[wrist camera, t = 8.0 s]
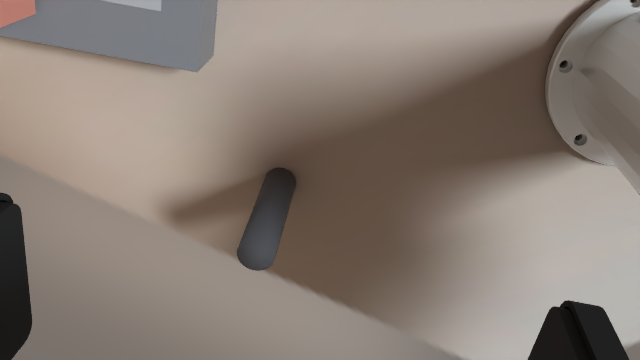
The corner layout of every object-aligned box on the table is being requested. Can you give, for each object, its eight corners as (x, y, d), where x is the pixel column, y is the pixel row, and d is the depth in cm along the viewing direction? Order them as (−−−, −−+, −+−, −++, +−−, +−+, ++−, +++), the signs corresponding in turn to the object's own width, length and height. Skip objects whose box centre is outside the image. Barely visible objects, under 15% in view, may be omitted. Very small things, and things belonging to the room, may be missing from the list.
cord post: (297, 171, 45) (277, 242, 36) (293, 197, 46) (272, 273, 37) (267, 165, 45) (238, 235, 36) (263, 192, 46) (235, 266, 37)
